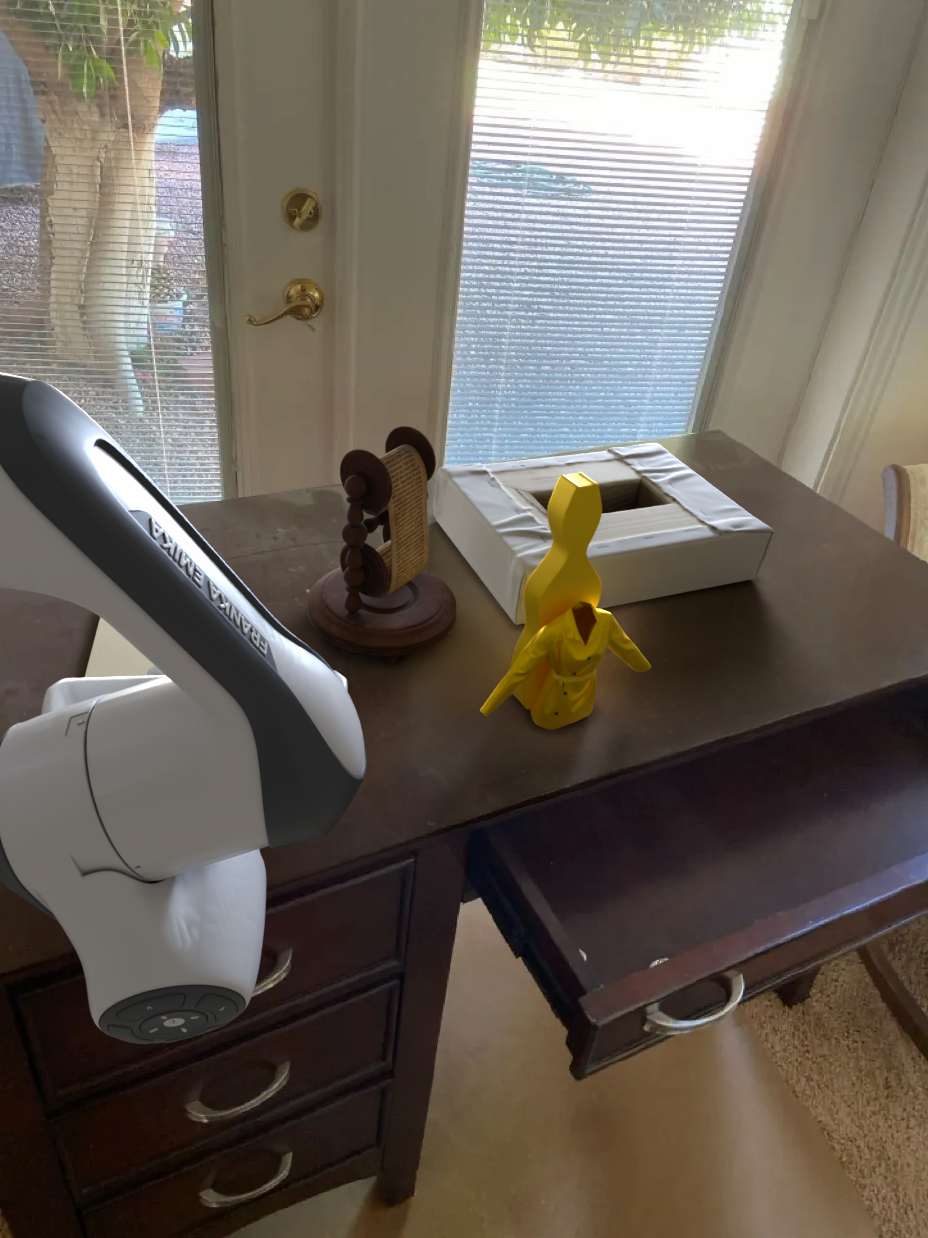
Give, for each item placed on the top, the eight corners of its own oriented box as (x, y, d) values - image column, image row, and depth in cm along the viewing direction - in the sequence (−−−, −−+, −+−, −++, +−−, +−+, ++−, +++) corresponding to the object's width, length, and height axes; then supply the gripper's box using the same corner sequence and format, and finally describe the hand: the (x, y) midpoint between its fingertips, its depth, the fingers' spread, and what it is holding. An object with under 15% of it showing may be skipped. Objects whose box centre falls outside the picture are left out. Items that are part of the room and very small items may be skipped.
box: (516, 632, 90) (761, 580, 103) (525, 568, 86) (780, 521, 98) (428, 523, 107) (647, 490, 119) (432, 465, 103) (659, 436, 115)
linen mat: (80, 699, 76) (79, 695, 76) (104, 605, 87) (104, 601, 87) (247, 692, 79) (247, 689, 79) (250, 601, 90) (250, 598, 90)
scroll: (397, 689, 81) (409, 496, 70) (276, 627, 87) (268, 439, 75) (482, 616, 92) (505, 437, 80) (368, 565, 98) (374, 391, 86)
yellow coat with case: (488, 757, 75) (522, 534, 62) (447, 700, 81) (470, 484, 68) (654, 706, 83) (716, 498, 70) (607, 657, 88) (655, 455, 75)
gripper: (362, 741, 56) (347, 613, 67) (14, 757, 52) (58, 619, 63) (358, 809, 60) (345, 677, 71) (33, 829, 56) (72, 686, 67)
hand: (208, 650), depth 67 cm, fingers closed on rook chess piece, 3 cm apart
